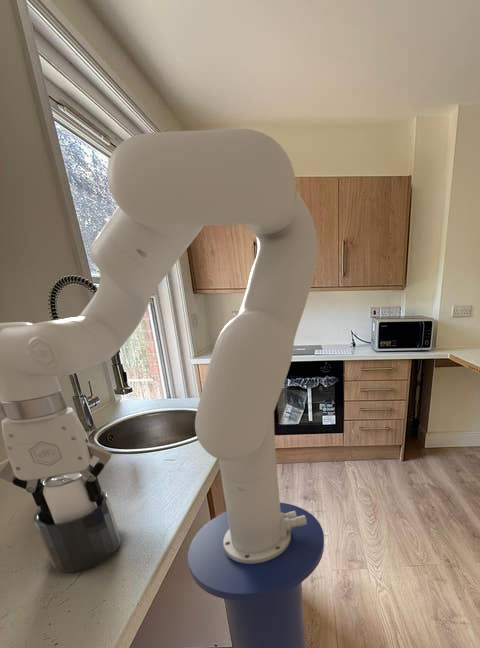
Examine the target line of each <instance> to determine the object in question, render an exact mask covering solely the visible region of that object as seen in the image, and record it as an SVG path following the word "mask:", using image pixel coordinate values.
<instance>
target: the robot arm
mask: <svg viewBox="0 0 480 648" xmlns="http://www.w3.org/2000/svg"><path fill="white" fill-rule="evenodd" d="M288 155H289V154H288V153H287V151H285V149H284V148H283V147H282V146H281V144H280V143H279V142H278V141H277V140H275V139H274V138H273V137H271V136H270V135H268V134H266V133H265V132H261V131H259V130H255V129H249V128H219V129H202V130H176V131H158V132H157V131H156V132H147V133H141V134H137V135H133V136H130V137H128V138H127V139H125V140H123V141H122V142H120V143H119V144H118V145H117V146H116V147H115V149H114V150H113V151H112V153H111V155H110V157H109V160H108V164H107V170H106V174H107V175H106V176H107V178H106V179H107V184H108V187H109V191H110V193H111V196H112V198H113V200H114V201H115V203H116V205H117V207H116V208H115V210H114V212H113V213H112V215H111V217H110V218H109V219H108V220H107V222H106V224H104V226H103V228H102V229H101V230H100V231H99V233H98V235H97V236H96V237H95V238H94V240H93V242H92V243H91V245H90V247H89V248H90V250H89V254H90V258H91V260H92V262H93V263H94V265H95V266H96V268H97V269H98V270H99V275H100V276H99V283H98V286H97V289H96V291H95V293H94V295H93V296H92V298H91V299H90V301H89V302H88V303H87V305H86V306H85V307H84V308H83V310H82V312H81V313H80V314H79V315H78V316H73V317H67V318H59V319H53V320H46V321H39V322H36V323H35V322H34V323H32V322H28V321H27V322H25V321H13V322H0V413H3V415H4V419H2V420H1V423H0V424H1V432H2V437H3V442H4V447H5V451H6V453H7V457H8V462H7V463H6V464H5V465H4V466H3V467H2V469H1V470H0V479H2V480H5V481H6V482H9V483H12V484H13V485H14V486H16V487H19V488H21V489H24V490H25V491H26V492H27V493H28V494H31V495H32V498H33V500H34V503H35V505H36V507H39V509H40V508H41V510H42V512H47V511H48V510H49V507H48V505H47V502H46V500H45V497H44V495H43V488H44V485H43V482H42V479H46V478H48V477H53V476H58V475H64V474H69V473H75V472H79V473H80V474H81V475H82V476H84V477H85V478H86V482H85V486H86V489H87V492H88V495H89V498H90V500H91V502H96V501H97V498H98V496H99V494H101V491H102V488H101V485H100V481H99V478H98V476H99V475H100V473H101V472H102V471H103V470H104V469H105V466H106V465H107V464H108V463H109V461H110V460H111V458H112V455H113V454H112V452H110V451H109V450H106V449H104V448H102V447H99V446H98V445H96V444H94V443H91V441H90V439H89V436H88V435H87V433H86V430H85V428H84V426H83V424H82V422H81V420H80V418H79V417H78V415H77V414H76V412H75V410H74V409H73V408H72V407H69V406H68V405H67V403H66V399H65V396H64V393H63V391H62V388H61V384H60V382H59V378H58V377H68V376H70V375H71V376H72V375H75V374H77V373H79V372H83V371H85V370H88V369H89V368H92V367H95V366H98V365H100V364H103V363H105V362H107V361H109V360H110V359H112V358H113V357H115V355H116V354H117V353H118V352H119V351H120V350H121V349H122V348H123V346H124V345H125V344H126V342H127V341H128V340H129V338H130V337H131V336H132V335H133V333H134V332H135V331H136V330H137V328H138V326H139V325H140V323H141V322H142V320H143V318H144V315H145V314H146V312H147V308H148V307H149V305H150V302H151V297H152V295H153V293H154V292H155V291H156V289H157V288H158V287H159V285H160V284H161V283H162V282H163V280H164V279H165V278H166V276H168V274H169V272H171V270H172V268H173V267H174V266H175V264H176V263H177V262H178V261H179V259H180V258H181V257H182V255H183V254H184V253H185V252H186V250H187V249H188V248H189V246H190V245H191V244H192V243H193V241H194V240H195V239H196V237H197V236H198V235H199V234H200V232H201V231H202V229H203V228H204V227H215V226H244V227H246V228H247V229H249V230H250V231H251V233H253V235H254V236H255V238H256V242H257V252H256V257H255V260H254V262H253V264H252V267H251V271H250V274H249V278H248V283H247V287H246V290H245V294H244V296H243V300H242V302H241V306H240V309H239V312H238V314H237V315H236V316H235V317H233V318H232V319H230V320H229V321H228V322H227V323H226V324H225V325H224V327H223V328H222V330H221V331H220V332H219V334H218V337H217V339H216V342H215V344H214V346H213V350H212V353H211V357H210V361H209V365H208V368H207V372H206V375H205V379H204V383H203V387H202V390H201V394H200V397H199V400H198V401H199V402H198V404H197V409H196V413H195V418H194V430H195V435H196V438H197V440H198V442H199V444H200V446H201V447H202V448H203V450H204V451H205V452H206V453H208V454H209V455H210V456H212V457H214V459H218V463H219V470H220V478H221V484H222V490H223V496H224V503H225V509H226V511H227V516H228V522H229V528H230V529H229V530H228V531H227V533H226V534H225V536H224V539H223V546H224V550H225V553H226V554H227V555H228V557H230V558H231V559H233V560H235V561H237V562H240V563H246V564H255V563H261V562H266V561H268V560H271V559H273V558H275V557H277V556H278V555H280V554H281V553H282V552H283V551H284V550H285V549H286V548H287V547H288V545H289V543H290V540H291V532H290V531H291V528H294V527H300V526H304V525H307V521H306V517H305V515H302V516H298V517H296V512H295V511H292V512H289V513H285V514H284V513H281V510H280V503H281V500H280V489H279V478H278V477H279V476H278V463H277V451H276V437H275V436H276V435H275V434H276V433H275V410H276V407H277V405H278V402H279V400H280V399H279V398H280V396H281V394H282V390H283V388H284V386H285V382H286V379H287V376H288V373H289V370H290V367H291V363H292V359H293V354H294V347H295V339H296V335H297V331H298V328H299V326H300V322H301V320H302V317H303V314H304V311H305V309H306V304H307V300H308V297H309V294H310V292H311V288H312V285H313V282H314V278H315V275H316V270H317V264H318V256H319V245H318V244H319V243H318V236H317V230H316V226H315V222H314V219H313V216H312V214H311V212H310V210H309V208H308V206H307V204H306V202H305V201H304V199H303V197H301V195H300V193H299V191H298V189H297V182H296V175H295V171H294V167H293V164H292V162H291V160H290V157H289V156H288ZM87 436H88V437H87ZM94 457H96V458H98V461H97V462H96V463H95V464H94V465H93V464H92V463H91V460H92V459H93V458H94Z"/></svg>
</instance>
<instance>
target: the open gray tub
mask: <svg viewBox="0 0 480 648" xmlns="http://www.w3.org/2000/svg"><path fill="white" fill-rule="evenodd" d="M96 504H97V507H98V508H96V509H95V510H93V511H92V512H90V513H89V514H86V515H84V516H82V517H80V518H77V519H74V520H71V521H68V522H63V523H56V524H55V522H54V520H53V517H52V515H51V512H50V510H48V511H47V512H42V510H41V508H40V507H39V508H38V509H37V511H36V512H35V513H34V515H33V523H34V525H35V527H36V531H37V533H38V535H39V538H40V540H41V542H42V544H43V546H44V549H45V551H46V553H47V556H48V558H49V561H50V563H51V565H52V566H53V569H55V570H56V571H57V572H60V573H64V574H65V573H66V574H71V573H72V574H74V573H79V572H83V571H87V570H90V569H92V568H95V567H97V566H99V565H101V564H103V563H104V562H106V561H107V560H108V559H110V558H111V557H112V556H113V555H114V554H115V553H116V552H117V551H118V549H119V548H120V546H121V542H122V540H121V535H120V532H119V529H118V526H117V523H116V519H115V516H114V513H113V509H112V508H111V503H110V500H109V497H108V495H107V492H104V491H102V490H101V494H99V496H98V498H97V501H96Z"/></svg>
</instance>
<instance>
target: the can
mask: <svg viewBox="0 0 480 648" xmlns="http://www.w3.org/2000/svg"><path fill="white" fill-rule="evenodd" d="M85 482H86V478H85V477H84V476H82V475H81V474H80V473H79V472H75V473H69V474H64V475H58V476H53V477H47V478H44V480H43V481H42V484H43V485H44V488H43V495H44V497H45V500H46V502H47V505H48V507H49V510H50V512H51V515H52V517H53V520H54V522H55V524H56V523H63V522H68V521H71V520H74V519H77V518H80V517H82V516H84V515H86V514H89V513H90V512H92V511H93V510H95V509H96V508H98V507H97V504H96V502H91V500H90V498H89V495H88V492H87V489H86V486H85Z"/></svg>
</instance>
